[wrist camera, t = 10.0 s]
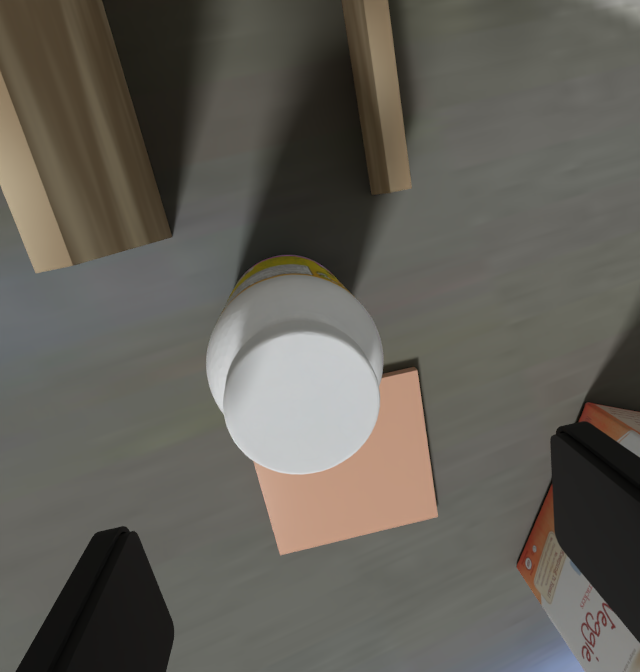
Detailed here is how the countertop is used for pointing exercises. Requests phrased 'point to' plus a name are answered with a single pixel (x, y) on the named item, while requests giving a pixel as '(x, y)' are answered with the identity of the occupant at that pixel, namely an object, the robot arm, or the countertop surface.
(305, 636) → the countertop surface
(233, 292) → the supplement bottle
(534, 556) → the cracker box
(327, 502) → the coaster
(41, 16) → the shelf bay
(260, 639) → the countertop surface
